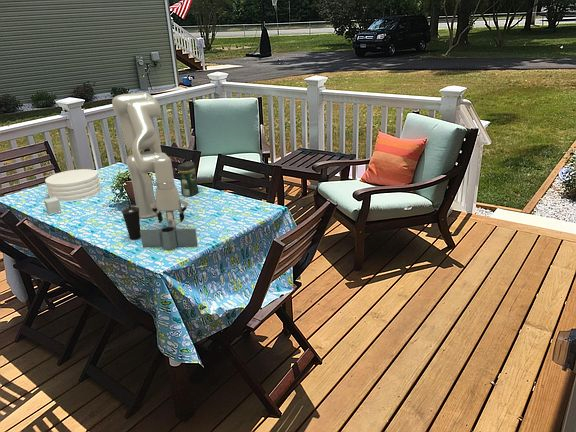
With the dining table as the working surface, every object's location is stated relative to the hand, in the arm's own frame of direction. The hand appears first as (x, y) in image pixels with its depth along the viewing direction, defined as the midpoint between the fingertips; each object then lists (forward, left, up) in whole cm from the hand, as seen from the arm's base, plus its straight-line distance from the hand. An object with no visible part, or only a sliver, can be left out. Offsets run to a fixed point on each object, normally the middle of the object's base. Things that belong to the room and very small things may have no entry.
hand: (171, 221), depth 213 cm
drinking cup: (-17, -2, -7) cm, 19 cm away
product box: (-73, +32, -7) cm, 80 cm away
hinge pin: (0, 0, -7) cm, 7 cm away
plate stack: (-75, +61, -8) cm, 97 cm away
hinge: (+2, -12, -7) cm, 14 cm away
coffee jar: (-6, +56, -7) cm, 57 cm away
